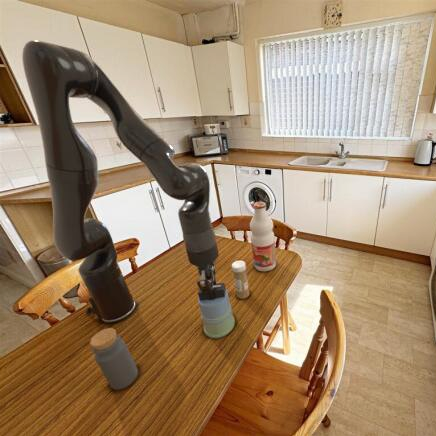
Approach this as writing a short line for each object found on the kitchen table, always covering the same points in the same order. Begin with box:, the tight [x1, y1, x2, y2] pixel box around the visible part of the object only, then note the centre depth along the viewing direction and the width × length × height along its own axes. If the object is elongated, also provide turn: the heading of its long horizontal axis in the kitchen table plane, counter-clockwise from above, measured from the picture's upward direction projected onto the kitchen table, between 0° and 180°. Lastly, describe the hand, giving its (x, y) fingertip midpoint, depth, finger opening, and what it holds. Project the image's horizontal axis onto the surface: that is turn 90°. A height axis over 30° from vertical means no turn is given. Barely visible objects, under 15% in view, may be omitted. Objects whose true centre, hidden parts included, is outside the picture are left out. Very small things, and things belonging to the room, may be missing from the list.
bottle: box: [89, 327, 139, 391], centre depth 57 cm, size 6×6×15 cm
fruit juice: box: [249, 201, 277, 272], centre depth 95 cm, size 9×9×28 cm
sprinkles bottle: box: [231, 260, 250, 300], centre depth 82 cm, size 5×5×13 cm
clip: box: [197, 282, 227, 301], centre depth 68 cm, size 7×3×3 cm, turn 100°
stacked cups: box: [197, 289, 236, 339], centre depth 71 cm, size 9×9×12 cm
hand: (212, 294), depth 68 cm, fingers closed on clip, 3 cm apart
